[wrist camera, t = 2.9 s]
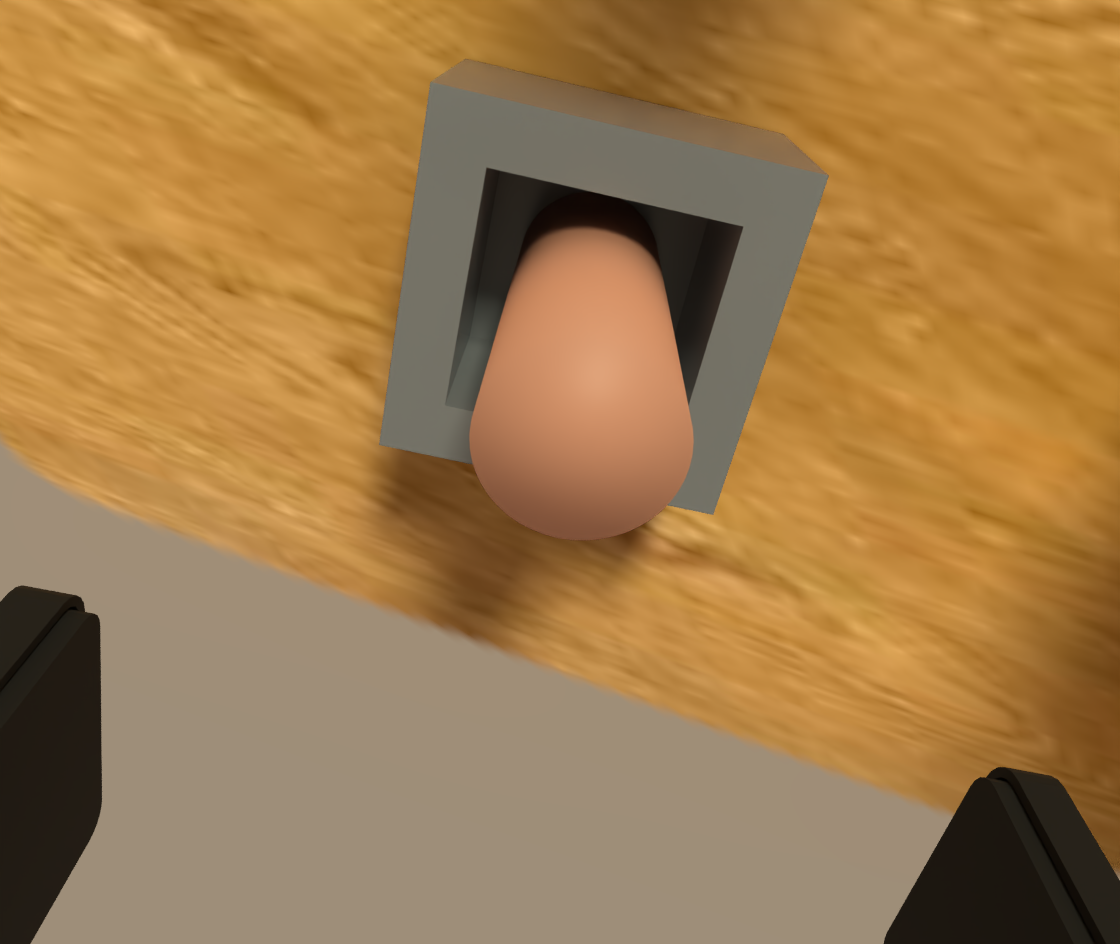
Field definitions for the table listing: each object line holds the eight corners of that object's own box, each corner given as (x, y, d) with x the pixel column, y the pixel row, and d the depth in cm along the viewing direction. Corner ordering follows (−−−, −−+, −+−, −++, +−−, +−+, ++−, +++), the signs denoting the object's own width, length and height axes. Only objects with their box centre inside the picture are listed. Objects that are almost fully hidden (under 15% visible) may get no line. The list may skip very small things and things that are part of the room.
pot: (465, 58, 26) (430, 81, 21) (783, 134, 26) (828, 175, 21) (418, 360, 30) (379, 444, 25) (694, 420, 31) (713, 514, 25)
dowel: (535, 177, 27) (491, 316, 16) (674, 209, 27) (721, 366, 16) (508, 312, 28) (452, 516, 18) (638, 340, 29) (660, 559, 18)
